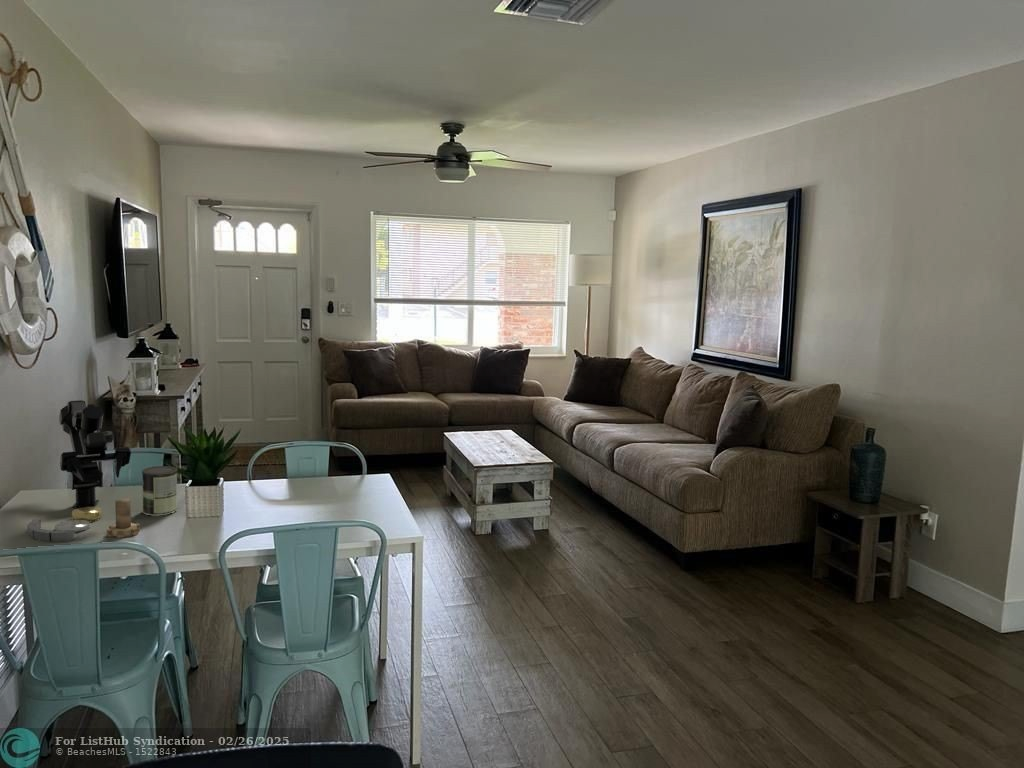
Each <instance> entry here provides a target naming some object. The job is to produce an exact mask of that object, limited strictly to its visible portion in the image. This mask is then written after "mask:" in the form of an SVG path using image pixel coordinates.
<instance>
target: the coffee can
mask: <svg viewBox="0 0 1024 768" xmlns="http://www.w3.org/2000/svg"><path fill="white" fill-rule="evenodd" d="M177 472H178V468H177V467H174V466H169V465H158V466H151V467H146V468H144V469H142V471H141V474H142V514H143V513H144V514H146V515H145V516H147V515H153V516H152V517H160V516H159V515H165V516H167V515H166V514H170V513H173V514H175V513H176V512H177V511H178V507H177V506H178V504H177V503H178V502H177V499H178V497H177V496H178V493H177V492H178V491H177V489H178V488H177V487H178V485H177V483H178V481H177V480H178V479H177V478H178V476H177V475H178V473H177ZM175 511H176V512H175ZM174 512H175V513H174ZM144 514H143V515H144ZM170 515H171V514H170Z"/></svg>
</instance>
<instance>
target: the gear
mask: <svg viewBox="0 0 1024 768" xmlns="http://www.w3.org/2000/svg"><path fill="white" fill-rule="evenodd" d="M114 503H115V524H114V523H113V524H111V525H109V526H108V528H106V536H107V535H108V536H107V537H113V536H116V537H115V538H118V539H122V538H121V537H123V538H125V537H124V536H126V537H131V536H137V535H138V534H139V531H138V530H140V531H141V524H140V523H132V517H131V516H132V512H131V511H132V510H131V508H132V505H131V503H132V500H131V499H130V498H121V499H116V500H115V502H114ZM130 535H131V536H130Z"/></svg>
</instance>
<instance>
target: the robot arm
mask: <svg viewBox="0 0 1024 768" xmlns="http://www.w3.org/2000/svg"><path fill="white" fill-rule="evenodd" d="M104 413H105V412H104V410H103V409H102V407H101V408H100V407H98V406H95V404H94V403H93V404H87V405H86V401H85V400H83V399H82V400H79V399H77V400H70V401H67V404H66V405H64V407H63V408H61V409H60V410H59V415H58V423H59V425H60V426H61V427H62V430H63V432H65V433H66V434H67V435H69V438H70V443H71V447H72V451H65V452H62V453H61V454H60V460H59V466H60V467H59V468H60V471H62V472H67V473H70V475H69V481H68V482H69V488H70V489H71V490H72V491H74V490H75V503H73V505H72V508H75V509H79V508H84V507H96V506H97V505H98V504H99V502H100V499H96V498H97V497H96V496H97V495H96V488H98V487H99V488H100V487H102V486H103V476H104V473H103V472H102V470H101V468H99V465H98V463H100V462H111V461H113V462H114V472H115V477H116V478H117V479H118V478H119V477H120V471H121V469H122V467H126V466H127V465H129V464H130V461H131V456H132V455H131V454H132V449H131V448H130V447H129V446H121V447H115V450H114V452H111V453H106V451H108V447H107V444H108V443H112V442H113V440H114V436H113V435H114V434H113V432H112V430H107V431H106V430H105V431H101V429H102V426H103V422H104V421H105V416H104Z"/></svg>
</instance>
